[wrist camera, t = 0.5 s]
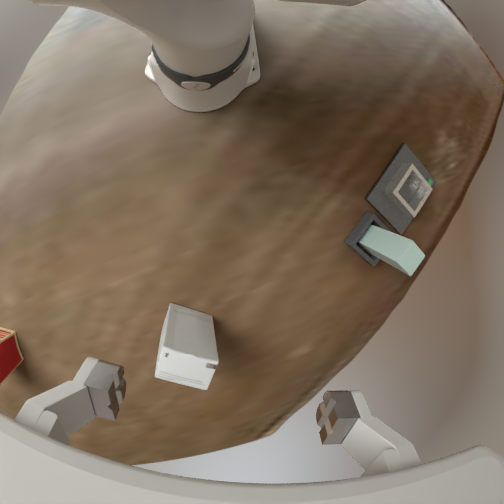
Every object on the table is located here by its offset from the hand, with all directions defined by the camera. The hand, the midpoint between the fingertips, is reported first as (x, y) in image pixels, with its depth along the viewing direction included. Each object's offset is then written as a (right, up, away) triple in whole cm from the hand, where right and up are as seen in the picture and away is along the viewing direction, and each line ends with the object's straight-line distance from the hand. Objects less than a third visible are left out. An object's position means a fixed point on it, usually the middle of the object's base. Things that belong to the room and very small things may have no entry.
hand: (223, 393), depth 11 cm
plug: (+23, +8, +42) cm, 48 cm away
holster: (+23, +8, +42) cm, 48 cm away
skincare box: (-10, -7, +41) cm, 43 cm away
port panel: (+30, +18, +40) cm, 53 cm away
